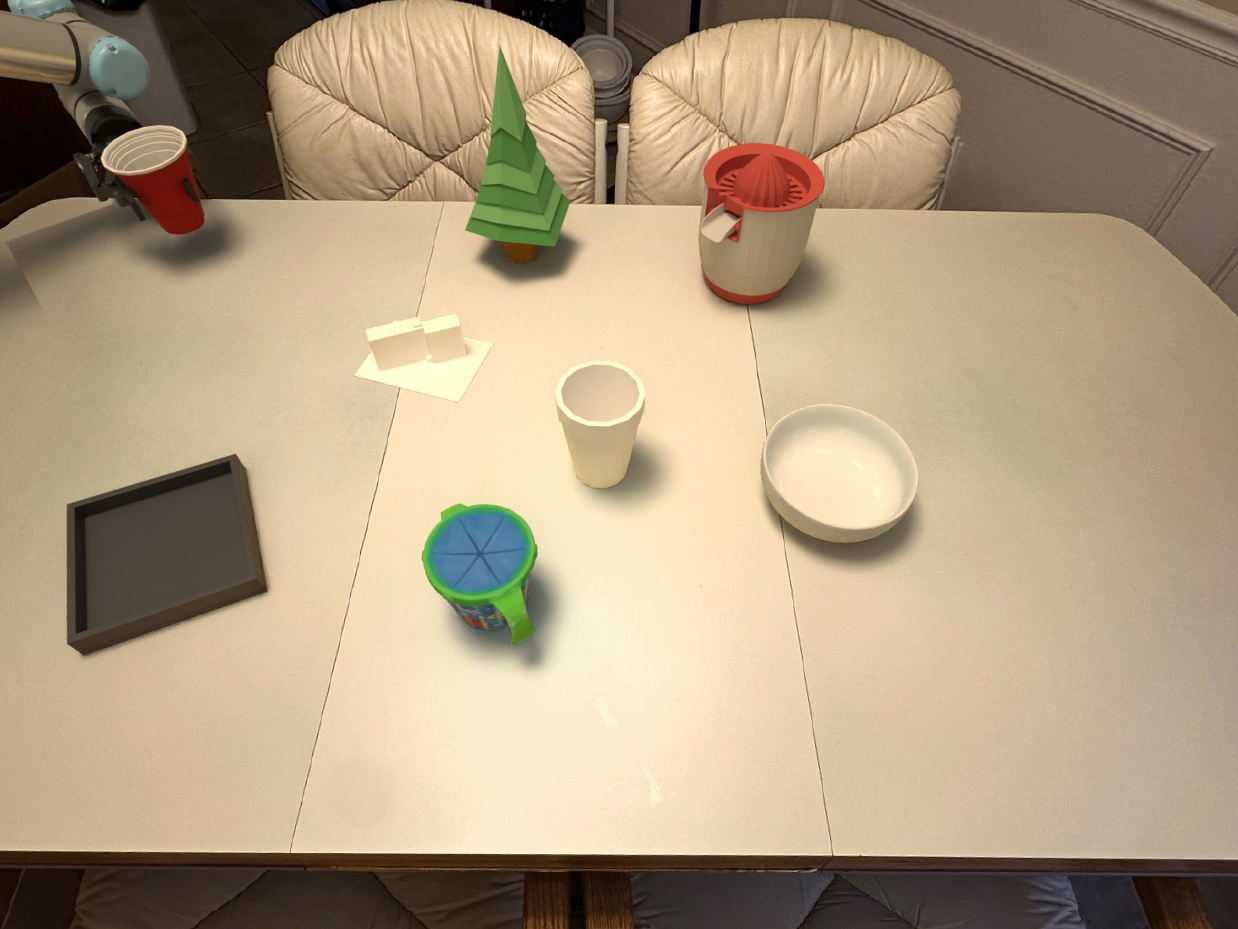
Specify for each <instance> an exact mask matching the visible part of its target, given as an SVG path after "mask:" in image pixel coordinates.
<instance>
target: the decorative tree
mask: <svg viewBox="0 0 1238 929" xmlns="http://www.w3.org/2000/svg"><path fill="white" fill-rule="evenodd" d="M495 76H496V77H495V86H494V96H493V103H492V104H493V105H492V115H491V124H490V134H489V138H490V141H489V146H488V151H487V152H488V153H487V156H486V157H487V158H486V161H485V169H484V172H483V176H482V179H481V183H480V187H479V190H478V192H477V195H476V199H475V202H474V204H473V205H474V206H473V208H472V210H471V213H470V216H469V219H468V220H467V224H466V226H465V229H464V231H465V232H468V233H472V234H475V235H478V236H481V237H483V238H484V237H485V238H488V239H491V240H493V241H496V242H503V245H504V246H503V247H504V252H505V253H504V254H505V257H506V258H507V259H509V260H510V261H512V262H513V263H515V264H516V265H521V264H524V263H525V264H527V263H531V262H532V263H533V262H534V260H535V259H536V256H537V254H538V253H539V246H545V247H556V245H557V242H558V239H559V236H560V234H561V230H562V227H563V224H564V222H565V218H566V215H567V213H568V211H569V207H570V205H571V200H570V198H568V197H567V196H566V195H565V194H564V193H563V190H564V189H563V187H561V185H560V184H559V183H558V182H557V181H556V180H554V179H555V177H556V176H555V174H554V173H553V172H552V171H551V169H550V168H549V167H548V165H547V164H546V162H547V159H546V158H545V156H544V154H542V152H541V151H540V149H539V147H538V146H537V143H538V141H537V139H536V137H535V136H534V133H533V132H532V129H531V127H530V126H529V124H528V122H527V116H528V115H527V112H526V110H525V107H524V104H523V102H522V99H521V96H520V94H519V91H518V88H517V86H516V83H515V81H514V78H513V75H512V73H511V71H510V68H509V65H508V63H507V61H506V59H505V56H504V53H503V50H502V47H501V45H499V46H498V56H497V66H496V75H495Z"/></svg>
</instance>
